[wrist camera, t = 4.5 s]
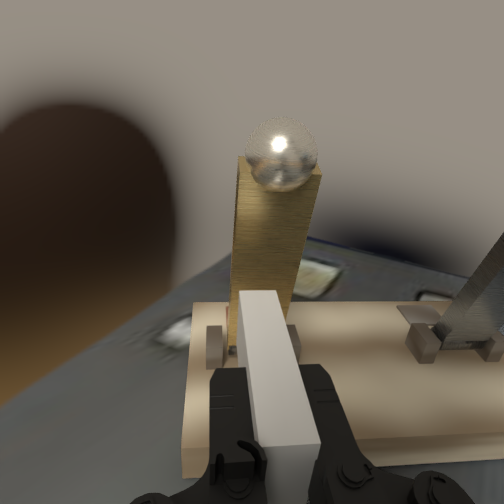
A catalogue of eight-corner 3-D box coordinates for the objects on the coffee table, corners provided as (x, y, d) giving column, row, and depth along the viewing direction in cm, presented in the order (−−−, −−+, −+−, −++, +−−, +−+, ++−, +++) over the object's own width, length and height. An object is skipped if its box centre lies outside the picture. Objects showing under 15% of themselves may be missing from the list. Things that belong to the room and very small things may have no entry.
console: (560, 455, 21) (597, 405, 19) (182, 478, 18) (179, 424, 16) (443, 323, 31) (459, 283, 29) (194, 327, 29) (193, 283, 27)
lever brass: (278, 367, 22) (339, 139, 12) (227, 368, 22) (244, 135, 11) (273, 330, 24) (320, 108, 14) (226, 330, 24) (240, 103, 13)
